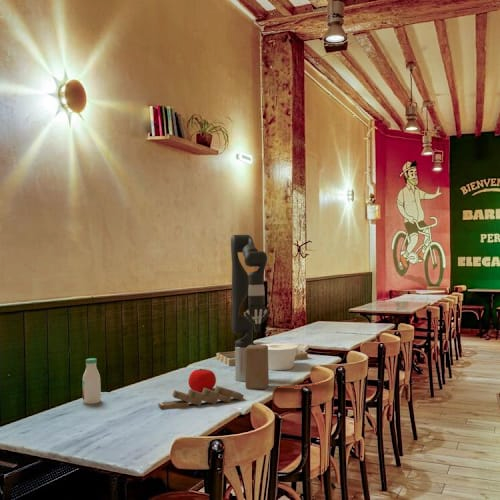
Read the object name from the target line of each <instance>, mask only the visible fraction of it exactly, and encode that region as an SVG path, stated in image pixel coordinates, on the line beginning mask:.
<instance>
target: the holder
mask: <svg viewBox="0 0 500 500" xmlns="http://www.w3.org/2000/svg"><path fill="white" fill-rule="evenodd" d="M295 345H297V346H298V348H297V349H298V350H301V351H304V352H307V350H309V348H310V347H309V346H310V344H309V343H295Z"/></svg>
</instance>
